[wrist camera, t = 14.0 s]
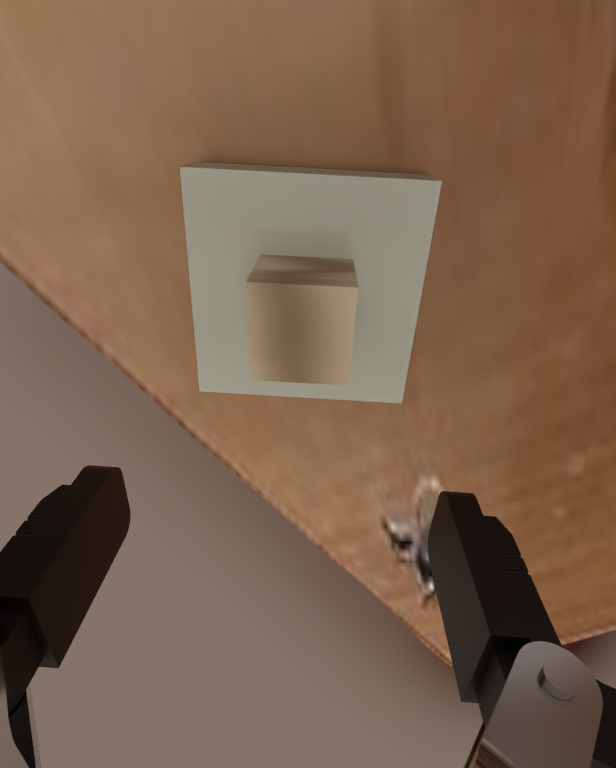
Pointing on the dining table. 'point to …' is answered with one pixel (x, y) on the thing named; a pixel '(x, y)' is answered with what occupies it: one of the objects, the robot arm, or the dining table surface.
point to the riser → (307, 239)
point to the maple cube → (301, 319)
